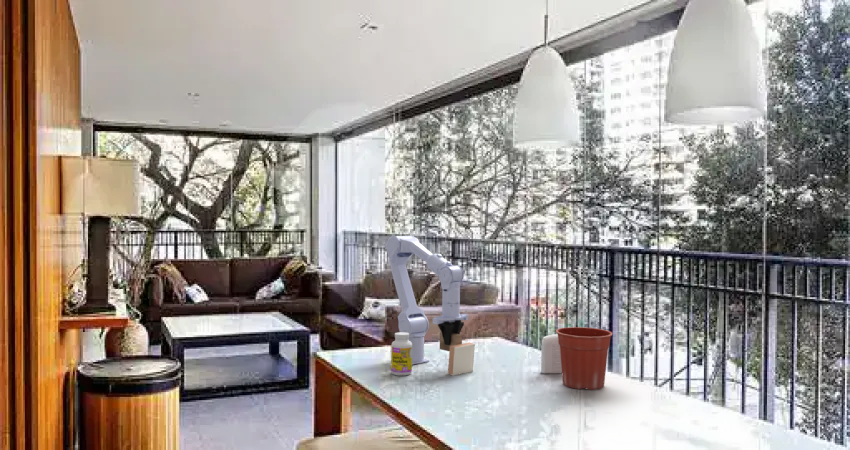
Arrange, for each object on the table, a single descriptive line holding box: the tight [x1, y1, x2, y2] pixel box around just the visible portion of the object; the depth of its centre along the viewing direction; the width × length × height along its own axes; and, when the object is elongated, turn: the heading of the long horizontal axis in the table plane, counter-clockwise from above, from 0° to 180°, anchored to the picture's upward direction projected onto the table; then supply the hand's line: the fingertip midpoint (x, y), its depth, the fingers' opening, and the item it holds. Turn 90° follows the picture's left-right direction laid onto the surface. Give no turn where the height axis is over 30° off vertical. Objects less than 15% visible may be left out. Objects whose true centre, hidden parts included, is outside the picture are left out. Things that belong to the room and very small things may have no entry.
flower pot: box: [555, 326, 613, 391], centre depth 196 cm, size 16×16×16 cm
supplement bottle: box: [390, 331, 413, 377], centre depth 209 cm, size 7×7×13 cm
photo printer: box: [540, 333, 562, 374], centre depth 212 cm, size 10×4×12 cm, turn 98°
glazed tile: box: [447, 342, 476, 376], centre depth 211 cm, size 2×9×9 cm, turn 132°
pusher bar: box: [439, 331, 463, 352], centre depth 214 cm, size 8×2×6 cm, turn 42°
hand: (450, 344), depth 214 cm, fingers closed on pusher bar, 2 cm apart
